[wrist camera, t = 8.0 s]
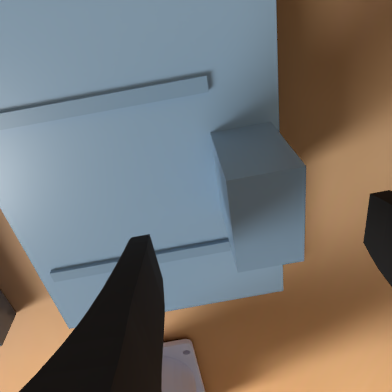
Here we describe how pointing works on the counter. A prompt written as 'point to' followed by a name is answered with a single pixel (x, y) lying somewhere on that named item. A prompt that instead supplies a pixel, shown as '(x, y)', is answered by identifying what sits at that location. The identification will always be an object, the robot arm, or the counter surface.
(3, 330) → the grey rectangular tray
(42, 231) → the lid
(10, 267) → the counter surface
